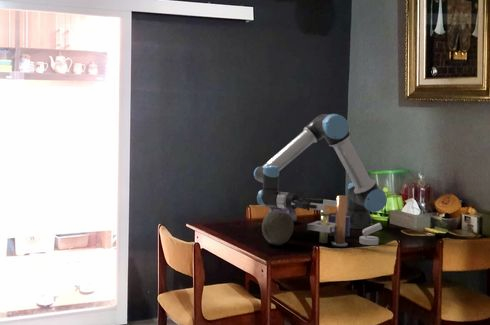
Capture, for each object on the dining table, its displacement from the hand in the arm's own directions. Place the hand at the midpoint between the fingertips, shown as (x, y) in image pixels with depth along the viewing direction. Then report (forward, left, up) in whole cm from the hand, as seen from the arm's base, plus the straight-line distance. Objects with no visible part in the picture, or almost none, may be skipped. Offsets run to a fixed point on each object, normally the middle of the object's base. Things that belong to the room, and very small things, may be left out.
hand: (330, 205), depth 266 cm
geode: (+12, -54, -18) cm, 58 cm away
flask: (-10, -17, -17) cm, 26 cm away
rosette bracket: (0, 0, -17) cm, 17 cm away
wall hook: (-20, -1, -17) cm, 26 cm away
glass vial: (+2, -2, -17) cm, 17 cm away
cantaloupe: (+24, +2, -17) cm, 30 cm away
